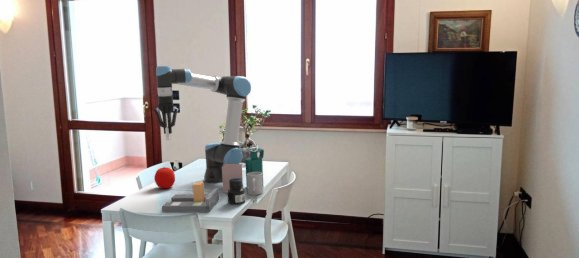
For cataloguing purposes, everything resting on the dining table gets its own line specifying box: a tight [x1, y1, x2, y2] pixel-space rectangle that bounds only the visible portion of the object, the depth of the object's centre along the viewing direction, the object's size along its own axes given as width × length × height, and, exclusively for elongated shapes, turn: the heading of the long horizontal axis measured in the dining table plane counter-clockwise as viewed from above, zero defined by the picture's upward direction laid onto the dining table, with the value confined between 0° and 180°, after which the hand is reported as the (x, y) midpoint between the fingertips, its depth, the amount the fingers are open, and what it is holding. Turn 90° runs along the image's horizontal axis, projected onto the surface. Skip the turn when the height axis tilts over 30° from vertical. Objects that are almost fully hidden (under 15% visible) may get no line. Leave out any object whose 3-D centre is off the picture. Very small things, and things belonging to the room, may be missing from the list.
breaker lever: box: [192, 181, 206, 202], centre depth 235 cm, size 4×6×10 cm, turn 175°
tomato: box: [154, 166, 176, 189], centre depth 270 cm, size 12×12×13 cm
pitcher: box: [244, 148, 265, 186], centre depth 266 cm, size 10×8×22 cm
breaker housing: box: [161, 187, 221, 213], centre depth 236 cm, size 24×20×6 cm
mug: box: [246, 172, 264, 196], centre depth 253 cm, size 12×8×11 cm
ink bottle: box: [227, 178, 246, 205], centre depth 239 cm, size 10×9×12 cm
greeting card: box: [222, 163, 244, 193], centre depth 260 cm, size 11×7×15 cm, turn 74°
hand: (168, 139), depth 245 cm, fingers closed
